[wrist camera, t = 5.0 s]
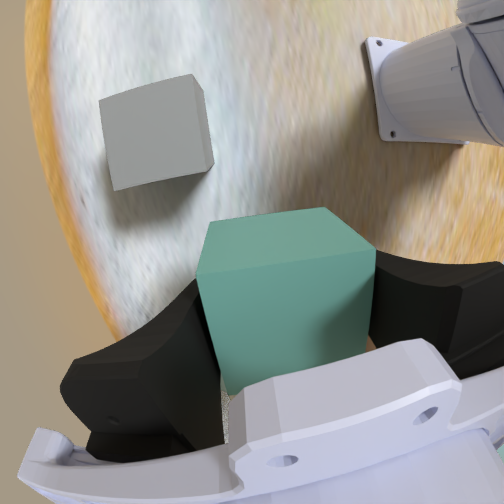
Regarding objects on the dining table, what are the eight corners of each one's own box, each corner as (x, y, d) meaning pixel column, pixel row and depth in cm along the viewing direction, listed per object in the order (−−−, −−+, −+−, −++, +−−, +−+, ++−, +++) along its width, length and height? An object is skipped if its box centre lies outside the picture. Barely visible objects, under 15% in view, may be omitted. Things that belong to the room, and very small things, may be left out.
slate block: (203, 90, 16) (191, 73, 11) (214, 163, 18) (207, 171, 13) (131, 108, 16) (98, 100, 11) (142, 177, 18) (113, 191, 13)
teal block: (324, 206, 12) (376, 248, 7) (326, 303, 14) (361, 372, 9) (210, 221, 12) (195, 274, 7) (228, 318, 14) (227, 395, 9)
